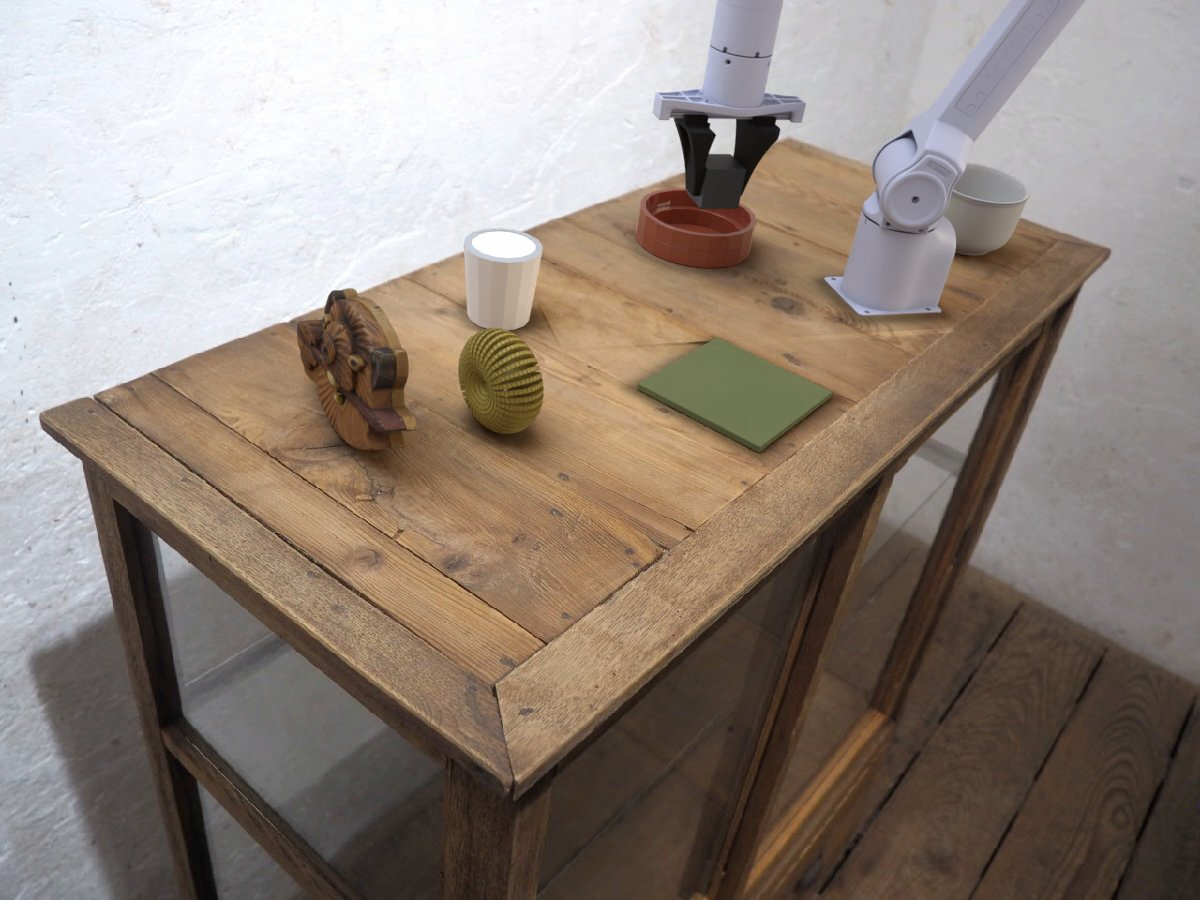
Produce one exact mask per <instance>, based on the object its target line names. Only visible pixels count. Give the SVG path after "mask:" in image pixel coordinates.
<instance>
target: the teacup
mask: <svg viewBox="0 0 1200 900" xmlns="http://www.w3.org/2000/svg"><path fill="white" fill-rule="evenodd" d="M1030 197H1031V189H1030V188H1029V186H1028V184H1027V183H1026V182H1024V180H1022V179H1021V178H1019V177H1018V176H1016V175H1014V174H1013V173H1011V172H1008V171H1006V170H1004V169H1001V168H998V167H997V166H992V165H990V164H986V163H981V162H976V161H970V160H968V163H967V166H966V169H965V172H964V173H963V175H962V176H961V177H960V179H959V180H958V181H957V183H956V184H955V186H954V188H953V190H952V194H951V198H950V203H949V206H948V208H947V210H946V212H945V213H944V215H943V217H945V218H947V219H948V220H949V222H950V223H951V224H952V226H953V228H954V231H955V235H956V250H955V254H958V255H963V256H971V257H973V256H974V257H975V256H976V257H977V256H981V255H985V254H988V253H990V252H992V251H995V250H996V251H997V250H998V249H1000V248H1002V247H1003V246H1004V245H1005V244H1007V243H1008V241H1009V240H1010V239H1011V238H1012V236H1013V234H1014V231H1015V230H1016V228H1017V226H1018V223H1019V221H1020V219H1021V216H1022V213H1023V212H1024V209H1025V206H1026V203H1027V202H1028V200H1029V199H1030Z"/></svg>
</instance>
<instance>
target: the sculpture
mask: <svg viewBox="0 0 1200 900" xmlns="http://www.w3.org/2000/svg"><path fill="white" fill-rule="evenodd" d="M538 363H539V362H538V360H537V358H536V356H535V354H534V352H533V351H532V349H531V348H530V346H529V345H528V344H527V343H526V342H525V340H524V339H522V338H521V337H520V336H519V335H517V334H515V333H514V332H512V331H511V330H505V329H500V328H499V329H498V328H489V329H487V328H484V329H482V330H480V331H478V332H476V333H475V334H473V335H472V336H471V337H469V339H468V340H467V342H465V344H464V346H463V347H462V350H461V352H460V355H459V359H458V365H457V372H458V375H457V376H458V383H459V388H460V391H461V395H462V397H464V398H463V400H464V402H465V403H466V407H467V408H468V409H469V411H470V413H471V415H472V416H473V417H474V418H475V419H476V420H477V421H478V422H479V424H481V425H482V426H483V427H485V428H486V429H488V430H490V431H492V432H494V433H498V434H503V435H507V434H508V435H510V434H515V433H516V434H517V433H519V432H522V431H523V430H526V429H527V428H528V427H530V426H531V425H532V424H533V423H534V421H535V420H536V419H537V418H538V416H539V415H540V412H541V409H542V408H543V407H542V405H543V403H544V401H543V400H544V397H545V395H544V392H545V388H544V387H545V386H544V379H543V373H542V371H540V370H541V366H540V365H538Z"/></svg>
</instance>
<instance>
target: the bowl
mask: <svg viewBox="0 0 1200 900" xmlns="http://www.w3.org/2000/svg"><path fill="white" fill-rule="evenodd" d="M757 223H758V221H757V218H756V214H755V212H753V211H752V210H751V209H750V208H749V206H747V205H745V204H744V203H742V202H741V201H740V202H739V207H738V209H700V208H699V206H698V205H697V204H696V203H695V202H694V201H693V200H692V198H691V197H690V196H689V195H688V194H687V190H686V188H685V187H668V188H662V189H656V190H653V191H651V192H649V193H646V194H645V195H644V196H643V197H642V198H641V199H640V201H639V207H638V213H637V221H636V226H635V240H636V241H637V242H638V244H639V245H640V247H641V248H643V249H644V250H646V251H648V252H649V253H650V254H651V255H653V256H655V257H658V258H660V259H662V260H665V261H667V262H670V263H675V264H677V265H678V264H679V265H682V266H686V267H693V268H701V269H715V268H716V269H717V268H718V269H720V268H727V267H732V266H736V265H738V264H741V263H742V262H744V261H745V260H747V258H748V257H749V255H750V253H751V249H752V247H753V246H752V245H753V241H754V237H755V233H756V229H757V228H756V227H757Z"/></svg>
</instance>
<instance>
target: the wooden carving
mask: <svg viewBox="0 0 1200 900" xmlns="http://www.w3.org/2000/svg"><path fill="white" fill-rule="evenodd" d="M323 312H324V313H323V316H322V317H317V318H316V319H308V320H298V322H297V323H296V339H297V346H298V349H299V352H300V354H299V357H300V360H301V363H302V365H303V369H304V373H305V375H306V376H307V378H308V379H309V380H310V381H312V382H313V383H314V384H317V386H318V387H317V395H318V398H319V401H320V405H321V406H322V409H323V411H324V414H325V415H326V418H327V419H328V421H329V423H330V425H331V426H332V428H334V430H335V432H336V433H337V434H338V436H339V437H341V438H342V439H343V440H344V442H345V443H346V444H348V445H349V446H351V447H352V448H355V449H358V450H362V451H378V450H384V449H388V450H394V449H403V448H405V445H406V442H405V439H404V434H403V432H414V431H416V430H417V421H416V418H415V415H414V414H413V413H412V411H410V409H409V408H408V407H407V406H406V399H405V397H406V396H405V386H406V385H407V382H408V379H409V370H410V369H409V368H410V367H409V365H410V364H409V363H410V362H409V357H408V352H407V350H406V349H405V348H403V347H402V344H401V341H400V339H399V337H398V334H397V332H396V330H395V329H394V325H392V323H391V322H390V319H389V317H388V316H387V313H386V311H384V309H383V308H382V307H381V306H380V305H378V304H377V302H376V301H375V300H374V299H371V298H368V297H365V296H359V293H358V291H357V290H356V289H355V288H353V287H349V288H343V289H333V290H332V291H330V293H329V294H328V296H327V299H326V303H325V305H324V311H323Z"/></svg>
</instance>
